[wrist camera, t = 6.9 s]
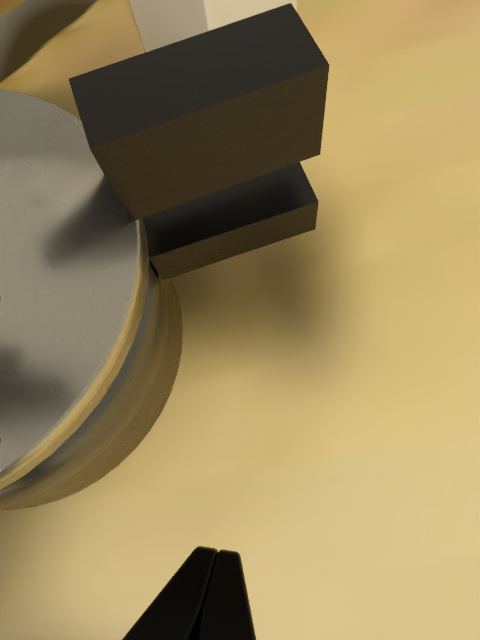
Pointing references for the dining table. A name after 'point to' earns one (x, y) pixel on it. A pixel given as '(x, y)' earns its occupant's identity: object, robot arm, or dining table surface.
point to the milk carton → (191, 17)
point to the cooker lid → (127, 202)
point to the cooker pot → (167, 323)
